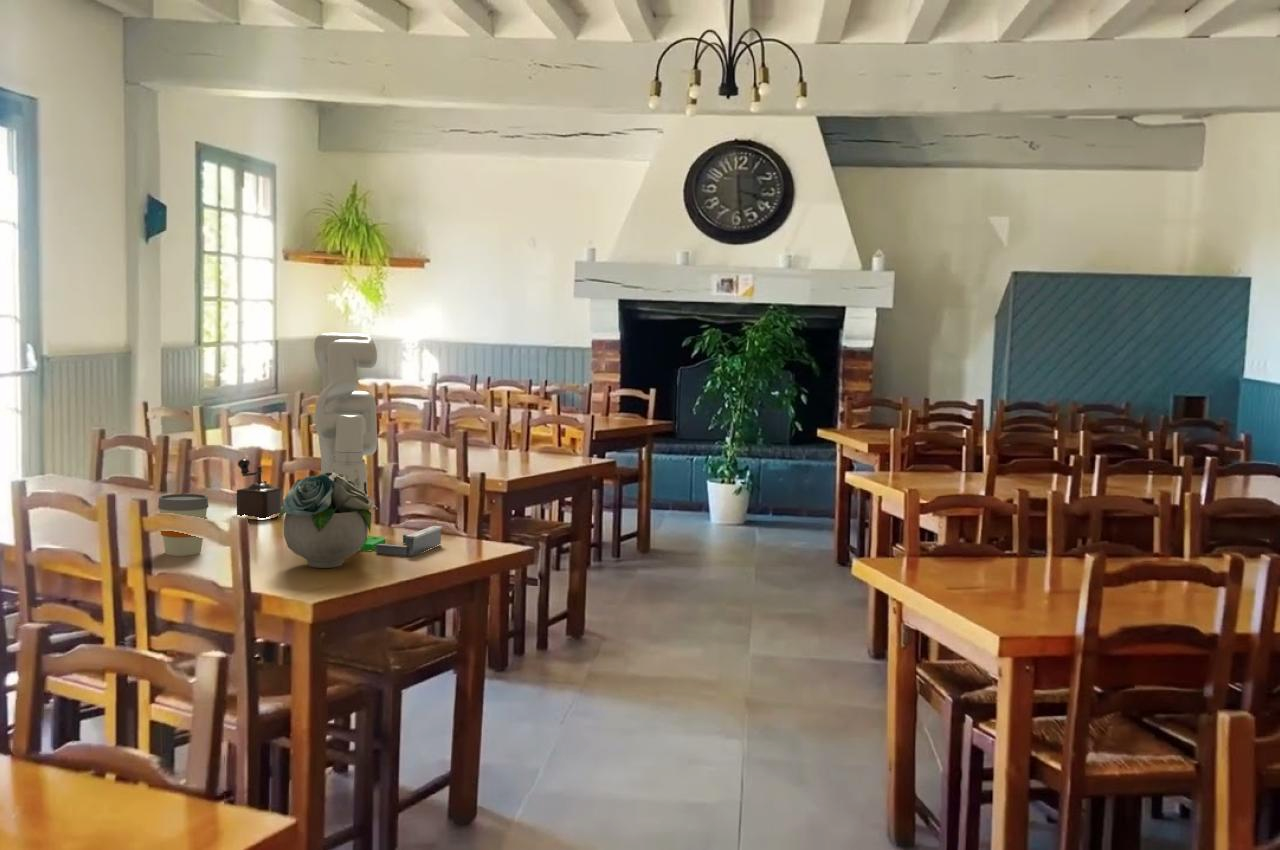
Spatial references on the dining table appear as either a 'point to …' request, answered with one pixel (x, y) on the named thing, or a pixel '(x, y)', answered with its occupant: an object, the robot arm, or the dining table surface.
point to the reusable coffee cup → (185, 506)
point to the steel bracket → (414, 542)
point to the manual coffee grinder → (257, 496)
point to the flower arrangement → (326, 519)
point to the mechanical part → (372, 542)
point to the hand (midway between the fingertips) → (348, 522)
